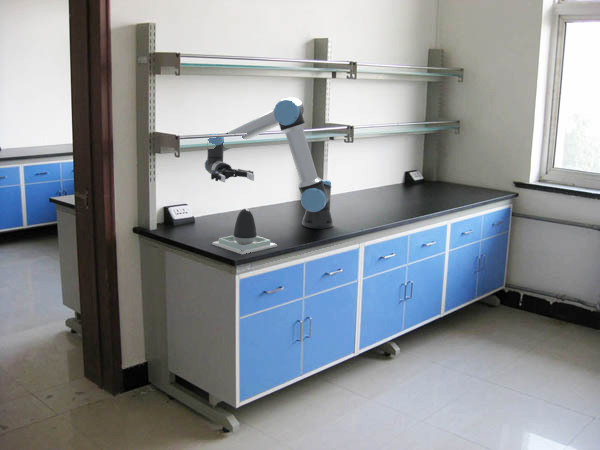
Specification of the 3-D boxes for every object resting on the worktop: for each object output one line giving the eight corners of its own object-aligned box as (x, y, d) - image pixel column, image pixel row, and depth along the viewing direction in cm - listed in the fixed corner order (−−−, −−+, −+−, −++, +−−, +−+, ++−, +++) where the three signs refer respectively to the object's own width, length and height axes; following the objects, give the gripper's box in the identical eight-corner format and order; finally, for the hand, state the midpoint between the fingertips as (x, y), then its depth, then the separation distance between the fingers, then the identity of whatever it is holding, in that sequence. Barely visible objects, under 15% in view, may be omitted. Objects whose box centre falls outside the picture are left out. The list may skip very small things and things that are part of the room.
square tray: (246, 237, 303) (246, 229, 302) (277, 246, 290) (277, 238, 289) (212, 244, 289) (212, 236, 288) (242, 254, 275) (242, 246, 275)
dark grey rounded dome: (255, 240, 295) (256, 206, 291) (257, 246, 285) (258, 211, 281) (232, 240, 293) (232, 206, 290) (233, 246, 283) (234, 211, 280)
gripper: (246, 176, 316) (264, 185, 298) (196, 179, 305) (212, 188, 287) (246, 161, 314) (265, 168, 296) (196, 163, 303) (212, 171, 285)
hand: (239, 178), depth 291 cm, fingers open, 13 cm apart
